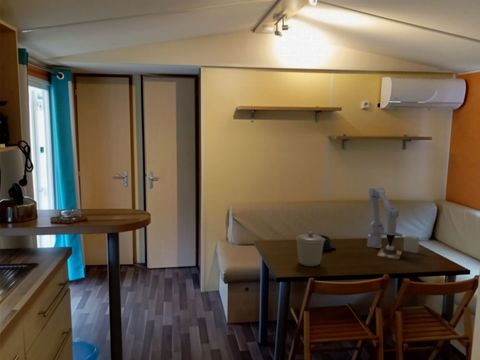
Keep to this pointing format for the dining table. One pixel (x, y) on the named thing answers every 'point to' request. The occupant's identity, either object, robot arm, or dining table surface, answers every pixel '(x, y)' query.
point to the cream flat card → (389, 253)
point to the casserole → (327, 243)
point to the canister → (309, 249)
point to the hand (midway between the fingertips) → (390, 245)
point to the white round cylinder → (390, 247)
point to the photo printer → (411, 243)
